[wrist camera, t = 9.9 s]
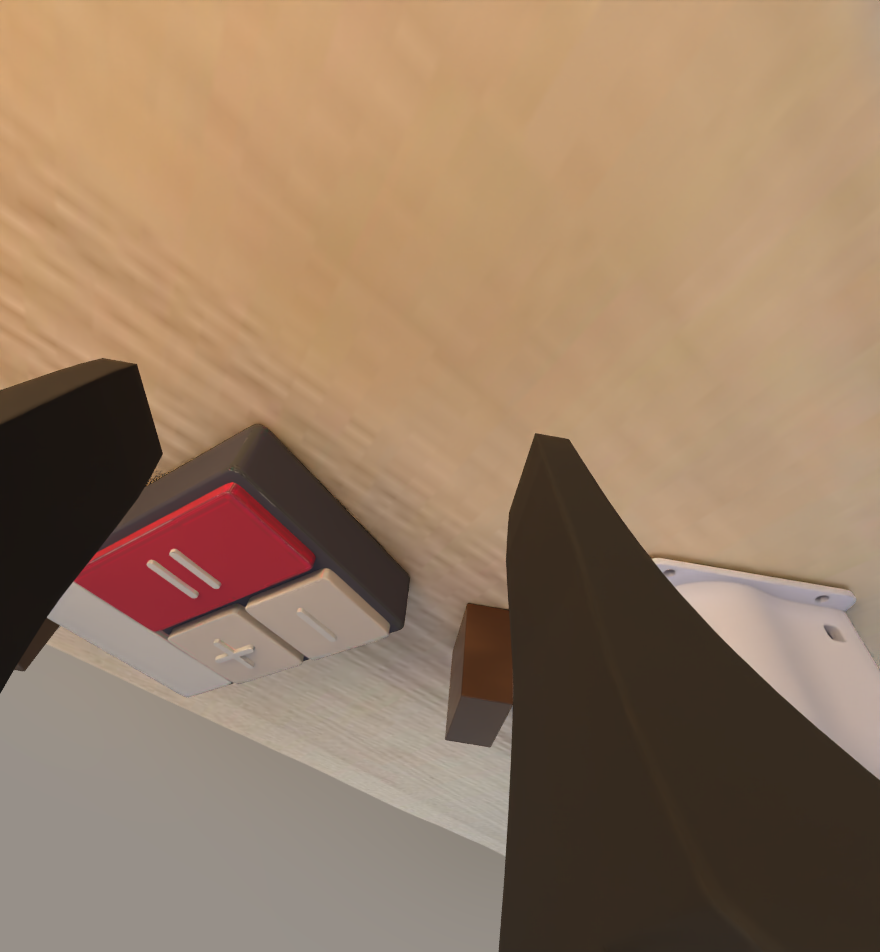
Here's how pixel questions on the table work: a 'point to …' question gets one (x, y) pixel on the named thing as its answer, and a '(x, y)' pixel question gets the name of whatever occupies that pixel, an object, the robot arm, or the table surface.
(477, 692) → the corner blocks
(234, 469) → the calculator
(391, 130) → the table surface
